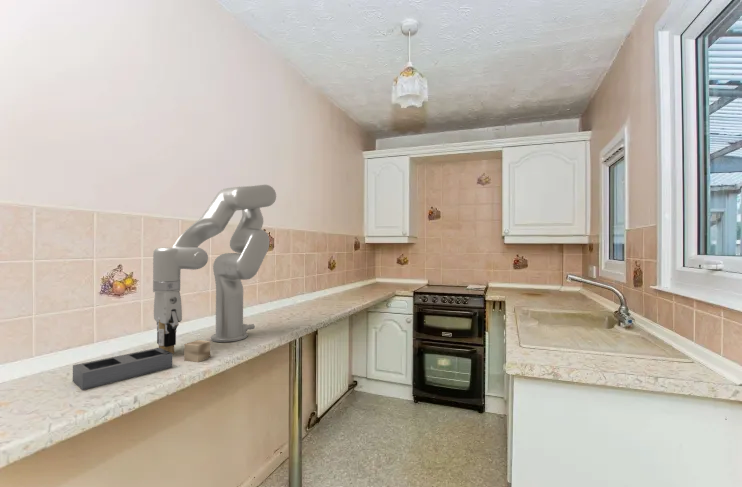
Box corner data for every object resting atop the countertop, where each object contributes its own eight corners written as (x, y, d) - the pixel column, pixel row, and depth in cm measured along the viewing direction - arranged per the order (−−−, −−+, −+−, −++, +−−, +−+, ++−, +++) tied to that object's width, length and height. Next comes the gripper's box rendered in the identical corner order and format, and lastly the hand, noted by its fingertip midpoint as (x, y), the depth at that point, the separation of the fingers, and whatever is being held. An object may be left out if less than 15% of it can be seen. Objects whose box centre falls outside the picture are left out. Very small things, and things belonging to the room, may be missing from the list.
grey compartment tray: (159, 360, 104) (159, 347, 104) (172, 367, 98) (172, 353, 98) (72, 381, 88) (72, 365, 88) (82, 390, 83) (82, 373, 83)
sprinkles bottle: (175, 355, 110) (175, 312, 110) (158, 357, 107) (158, 313, 107) (174, 351, 113) (174, 310, 114) (157, 353, 111) (157, 311, 111)
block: (197, 356, 109) (197, 339, 109) (210, 357, 108) (210, 341, 108) (184, 360, 104) (184, 344, 104) (197, 362, 103) (197, 345, 103)
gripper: (191, 287, 108) (191, 346, 108) (168, 283, 119) (167, 337, 118) (165, 289, 102) (164, 352, 102) (143, 285, 113) (142, 342, 112)
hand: (166, 343), depth 110 cm, fingers closed on sprinkles bottle, 4 cm apart
